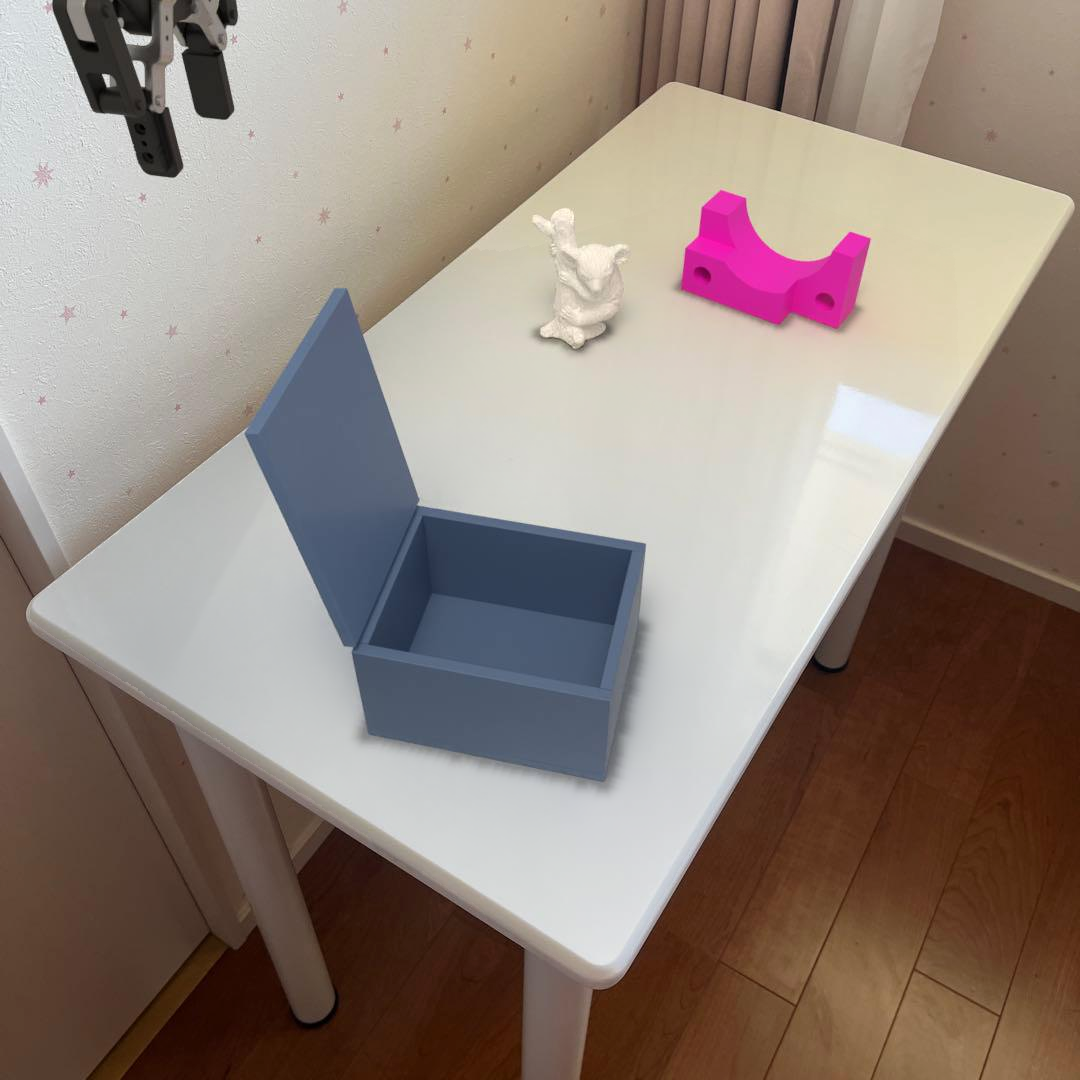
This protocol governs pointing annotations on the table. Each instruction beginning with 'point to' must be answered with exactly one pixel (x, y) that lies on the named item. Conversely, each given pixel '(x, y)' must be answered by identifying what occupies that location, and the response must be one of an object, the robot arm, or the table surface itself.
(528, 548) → the blue box
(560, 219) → the koala figurine
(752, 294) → the magenta pillow block
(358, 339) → the box lid
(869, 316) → the table surface
